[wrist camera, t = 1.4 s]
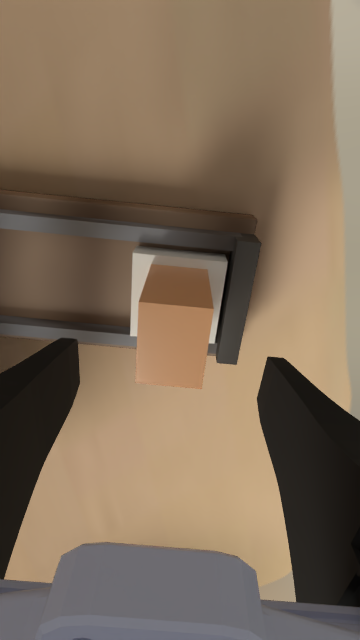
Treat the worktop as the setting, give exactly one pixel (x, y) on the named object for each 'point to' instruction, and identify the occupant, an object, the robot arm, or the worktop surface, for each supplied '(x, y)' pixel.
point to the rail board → (109, 266)
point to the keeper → (174, 313)
